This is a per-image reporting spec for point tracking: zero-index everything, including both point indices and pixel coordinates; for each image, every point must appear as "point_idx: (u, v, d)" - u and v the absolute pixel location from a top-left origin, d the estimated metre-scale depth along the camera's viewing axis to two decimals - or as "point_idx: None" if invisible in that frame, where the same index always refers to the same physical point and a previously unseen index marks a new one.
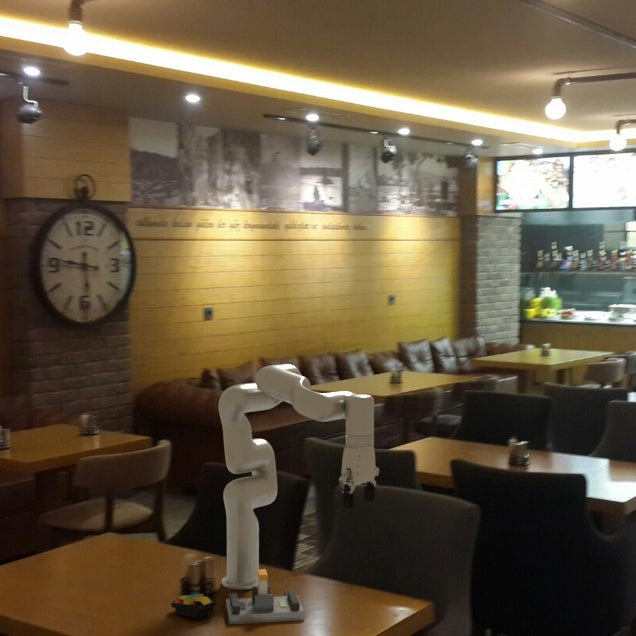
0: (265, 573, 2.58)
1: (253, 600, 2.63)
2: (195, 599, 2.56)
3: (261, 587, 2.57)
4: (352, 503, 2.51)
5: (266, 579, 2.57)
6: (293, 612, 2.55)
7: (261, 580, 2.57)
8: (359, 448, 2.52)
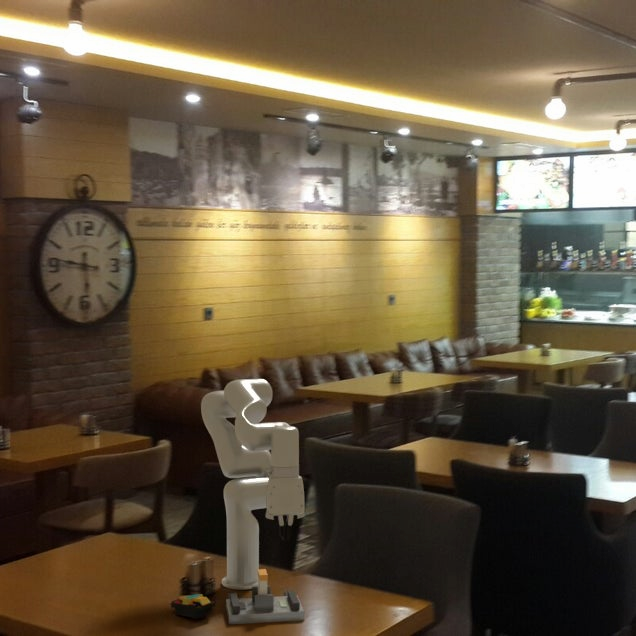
0: (265, 573, 2.58)
1: (253, 600, 2.63)
2: (194, 599, 2.56)
3: (261, 587, 2.57)
4: None
5: (266, 579, 2.57)
6: (293, 612, 2.55)
7: (261, 580, 2.57)
8: None
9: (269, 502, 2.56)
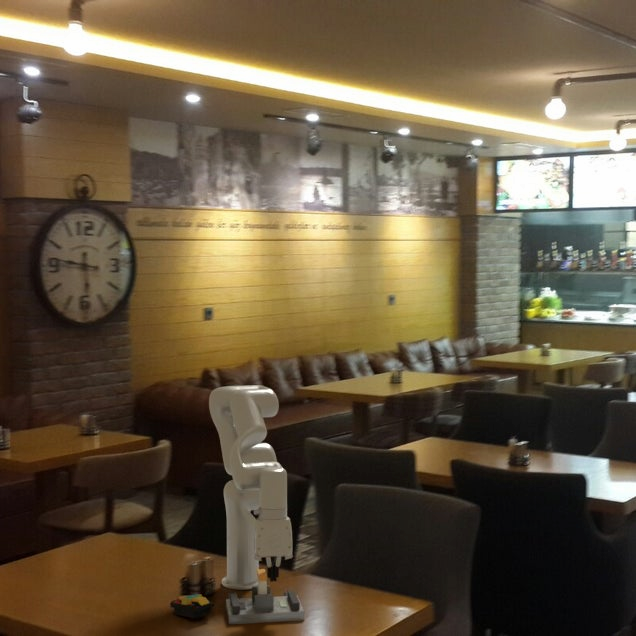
0: (264, 573, 2.58)
1: (253, 600, 2.63)
2: (193, 599, 2.55)
3: (260, 587, 2.57)
4: None
5: (266, 579, 2.57)
6: (293, 612, 2.55)
7: (260, 580, 2.57)
8: None
9: (257, 544, 2.56)
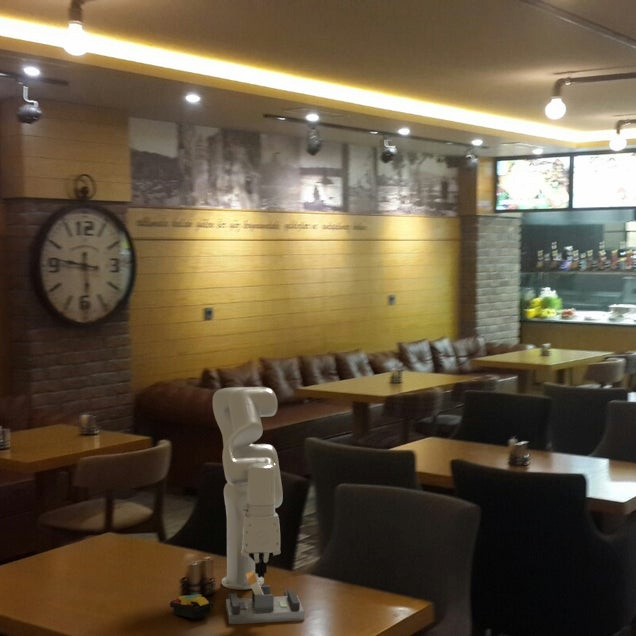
0: (252, 575, 2.58)
1: (253, 600, 2.63)
2: (192, 599, 2.55)
3: (254, 590, 2.57)
4: None
5: (255, 580, 2.57)
6: (293, 612, 2.55)
7: (251, 584, 2.57)
8: None
9: (245, 540, 2.56)
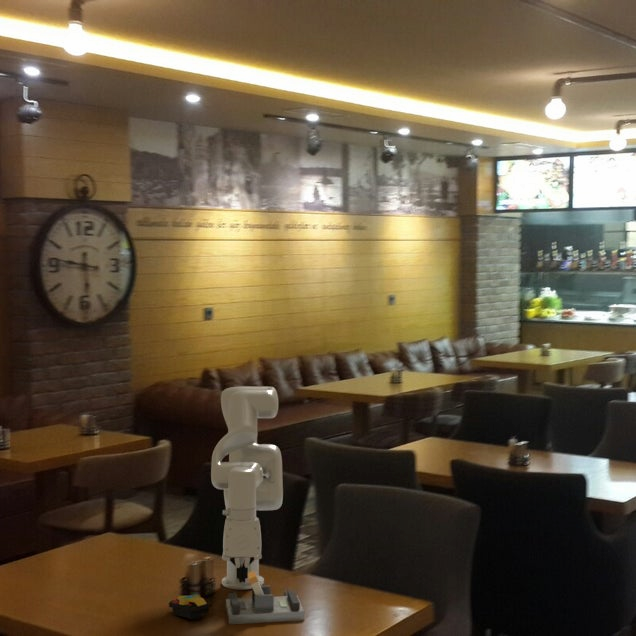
0: (254, 575, 2.58)
1: (253, 600, 2.63)
2: (190, 600, 2.55)
3: (255, 589, 2.57)
4: None
5: (256, 580, 2.57)
6: (293, 612, 2.55)
7: (252, 583, 2.57)
8: None
9: (225, 544, 2.55)
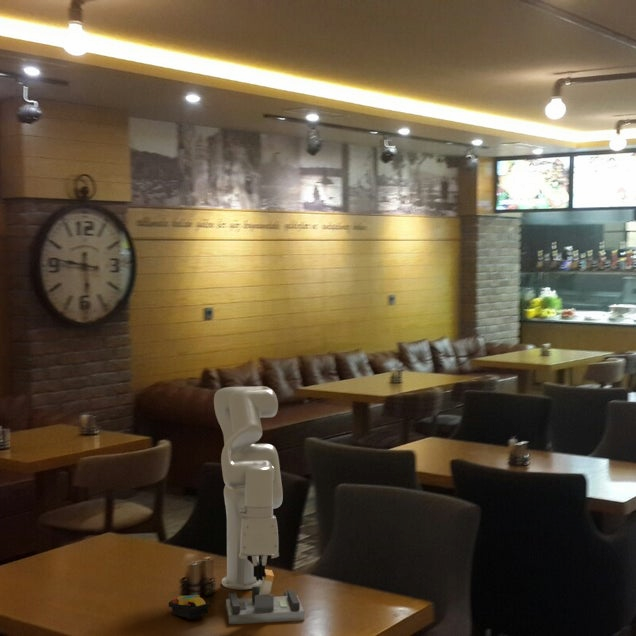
0: (271, 574, 2.59)
1: (253, 600, 2.63)
2: (189, 600, 2.55)
3: (265, 587, 2.57)
4: None
5: (272, 580, 2.57)
6: (293, 612, 2.55)
7: (266, 580, 2.57)
8: None
9: (242, 542, 2.55)
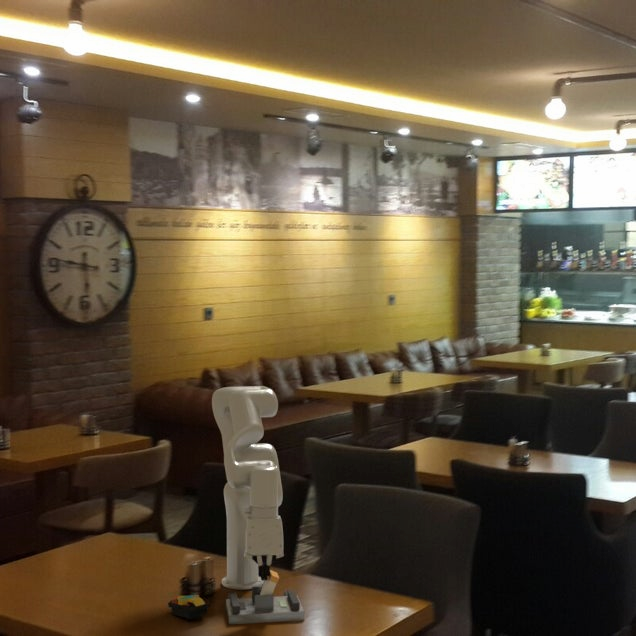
0: (277, 576, 2.59)
1: (253, 600, 2.63)
2: (189, 600, 2.55)
3: (268, 587, 2.57)
4: None
5: (276, 581, 2.58)
6: (293, 612, 2.55)
7: (271, 581, 2.57)
8: None
9: (248, 542, 2.56)
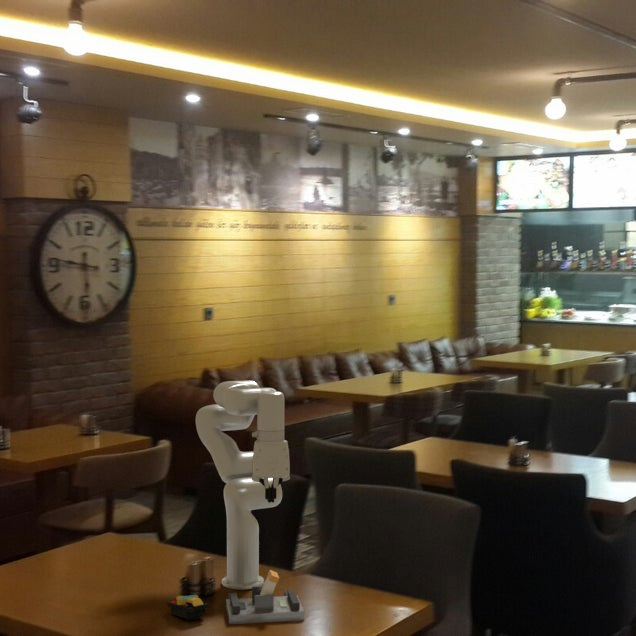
0: (277, 576, 2.59)
1: (253, 600, 2.63)
2: (187, 600, 2.55)
3: (268, 587, 2.57)
4: None
5: (276, 581, 2.58)
6: (293, 612, 2.55)
7: (271, 581, 2.57)
8: None
9: (255, 465, 2.63)
